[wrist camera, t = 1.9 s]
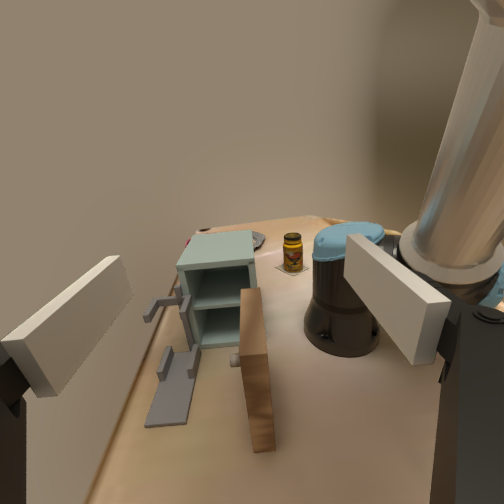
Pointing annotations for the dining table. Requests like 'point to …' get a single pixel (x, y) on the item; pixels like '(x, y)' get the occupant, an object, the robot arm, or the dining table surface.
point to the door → (255, 370)
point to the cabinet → (201, 315)
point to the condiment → (292, 254)
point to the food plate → (257, 239)
